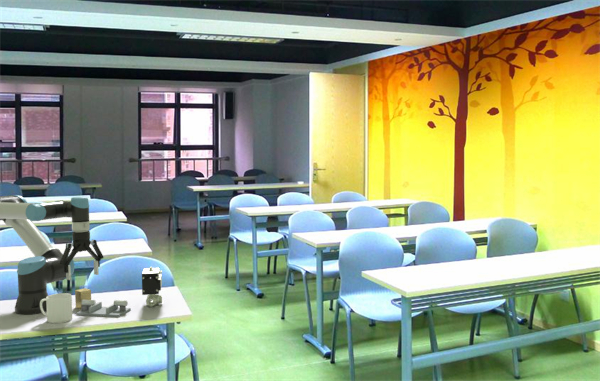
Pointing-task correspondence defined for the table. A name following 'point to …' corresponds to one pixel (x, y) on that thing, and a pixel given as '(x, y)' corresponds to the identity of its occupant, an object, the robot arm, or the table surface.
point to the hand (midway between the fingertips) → (82, 277)
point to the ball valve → (152, 285)
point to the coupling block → (82, 296)
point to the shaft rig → (103, 308)
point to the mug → (58, 308)
